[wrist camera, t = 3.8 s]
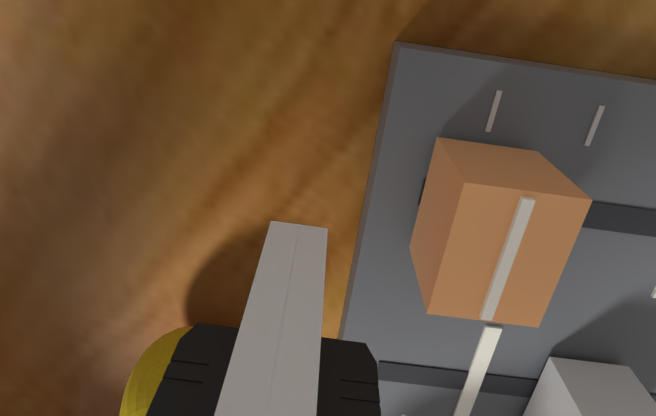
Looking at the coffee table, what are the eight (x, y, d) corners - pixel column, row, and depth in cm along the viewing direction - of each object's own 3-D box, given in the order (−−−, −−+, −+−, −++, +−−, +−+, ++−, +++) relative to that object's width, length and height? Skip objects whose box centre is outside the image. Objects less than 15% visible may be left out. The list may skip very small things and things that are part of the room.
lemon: (266, 371, 27) (240, 514, 20) (170, 376, 27) (111, 519, 20) (249, 291, 25) (213, 421, 18) (145, 298, 25) (68, 428, 18)
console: (324, 409, 28) (322, 461, 25) (394, 40, 19) (405, 52, 16) (649, 446, 29) (685, 501, 26) (864, 111, 20) (959, 135, 17)
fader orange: (409, 247, 21) (427, 317, 16) (436, 136, 18) (466, 185, 14) (499, 259, 21) (540, 331, 17) (537, 151, 19) (596, 202, 14)
